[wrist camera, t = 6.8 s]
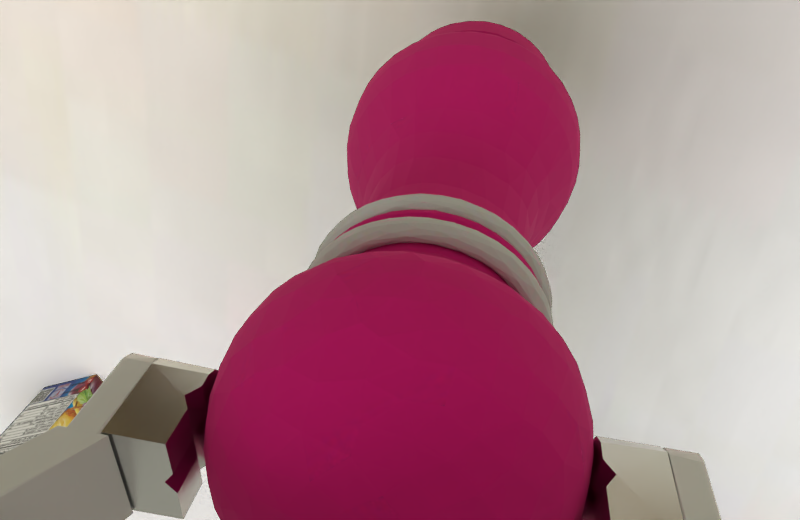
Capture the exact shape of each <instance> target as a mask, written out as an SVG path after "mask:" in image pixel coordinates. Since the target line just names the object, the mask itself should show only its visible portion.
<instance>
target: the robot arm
mask: <svg viewBox="0 0 800 520" xmlns="http://www.w3.org/2000/svg"><path fill="white" fill-rule="evenodd" d="M217 373H218V370H215V369H211V368H206V367H201V366H196V365H191V364H186V363H181V362H177V361H172V360H167V359H162V358H155V357H150V356H145V355H140V354H135V353H131V354H129V355H128V356H126V357H124V358H123V359H122V360H121V361H120V362H119V363H118V365H117V366H116V367H115V368H114V370H113V371H112V372H111V373H110V374H109V376H108V377H107V378H106V379H105V381H104V382H103V383H102V384H101V386H100V387H99V388H98V389H97V390H96V392H95V393H94V394H93V395H92V397H91V398H90V399H89V400H88V402H87V403H86V404H85V405H84V406H83V408H82V409H81V410H80V411H79V413H78V414H77V415H76V416H75V418H74V419H73V420H72V421H71V422H70V424H69V425H68V426H67V427H64V426H56V427H54V428H52V429H50V430H48V431H47V432H45V433H43V434H41V435H39V436H37V437H35V438H33V439H31V440H29V441H27V442H25V443H23V444H21V445H19V446H17V447H15V448H13V449H11V450H9V451H7V452H6V453H4V454H2V455H0V520H125V519H126V518H127V517H129V516H130V515H131V514H132V513H133V511H132V510H136V511H141V512H147V513H152V514H158V515H164V516H169V517H175V518H181V519H184V517H185V515H186V513H187V511H188V510H189V508H190V506H191V504H192V502H193V500H194V498H195V496H196V494H197V492H198V491H199V489H200V487H201V485H202V478H201V473H200V469H201V468H203V467H204V466H206V464H205V457H204V450H203V448H204V436H205V425H206V418H207V411H208V404H209V397H210V393H211V390H212V387H213V385H214V382H215V379H216V376H217ZM593 448H594V457H593V465H592V473H591V479H590V484H589V489H588V493H587V498H586V502H585V506H584V510H583V514H582V519H581V520H721V516H720V513H719V510H718V506H717V503H716V500H715V496H714V493H713V489H712V486H711V483H710V479H709V476H708V473H707V469H706V466H705V462H704V460H703V458H702V457H701V456H700V455H699V454H698V453H692V452H687V451H681V450H675V449H669V448H662V447H660V446H654V445H648V444H642V443H635V442H629V441H623V440H617V439H611V438H605V437H599V436H596V437H595V438H594V440H593Z"/></svg>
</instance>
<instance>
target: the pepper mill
mask: <svg viewBox="0 0 800 520" xmlns="http://www.w3.org/2000/svg"><path fill="white" fill-rule="evenodd" d="M579 157H580V131H579V124H578V118H577V114H576V111H575V108H574V105H573V103H572V100H571V98H570V96H569V94H568V92H567V90H566V89H565V87H564V85H563V83H562V82H561V80H560V79H559V78H558V77H557V75H556V74H555V73H554V72H553V71H552V69H551V68H550V67H549V65H548V63H547V61H546V60H545V58H544V56H543V55H542V54H541V52H540V51H539V50H538V49H537V48H536V47H535V46H534V45H533V44H532V43H531V42H530V41H529V40H528V39H526V38H525V37H524V36H522V35H521V34H520V33H518V32H516V31H514V30H512V29H510V28H507V27H505V26H502V25H500V24H495V23H491V22H484V21H466V22H460V23H454V24H450V25H447V26H444V27H441V28H439V29H437V30H435V31H433V32H431V33H430V34H428V35H427V36H425V37H424V38H422V39H421V40H420V41H418V42H416V43H413V44H411V45H410V46H408V47H407V48H405V49H403V50H402V51H400V52H398V53H397V54H395V55H394V56H393V57H392V58H391V59H390V60H389V61H387V62H386V63H385V64H384V65H383V66H382V67H381V68H380V69H379V70H378V71H377V72H376V74H375V75H374V76H373V78H372V79H371V80H370V82H369V83H368V85H367V87H366V88H365V90H364V92H363V94H362V96H361V98H360V100H359V103H358V106H357V108H356V111H355V114H354V116H353V119H352V122H351V125H350V130H349V136H348V143H347V163H348V178H349V184H350V190H351V193H352V196H353V199H354V202H355V205H356V207H357V210H355V211H353V212H352V213H350V214H349V215H348V216H346V217H345V218H344V219H343V220H341V221H340V222H339V223H338V224H337V225H336V226H335V228H334V229H333V230H332V231H331V232H330V233H329V234H328V235H327V237H326V238H325V240H324V241H323V242H322V244H321V245H320V247H319V249H318V252H317V254H316V257H315V259H314V261H313V262H312V263H311V265H310V266H309V268H308V270H306V271H304V272H302V273H300V274H298V275H295V276H294V277H292V278H291V279H289V280H288V281H287V282H285V283H284V284H282V285H281V286H280V287H278V288H277V289H275V290H274V291H273V292H272V293H271V294H270V295H269V296H268V297H267V298H266V299H265V300H264V301H263V302H262V303H261V305H260V306H259V307H258V308H257V309H256V310H255V311H254V312H253V313H252V314H251V315H250V316H249V318H248V319H247V320H246V322H245V323H244V324H243V326H242V327H241V328H240V330H239V331H238V332H237V334H236V335H235V337H234V339H233V341H232V343H231V345H230V347H229V349H228V351H227V353H226V355H225V357H224V359H223V361H222V363H221V365H220V367H219V370H218V373H217V376H216V379H215V382H214V385H213V387H212V390H211V393H210V397H209V404H208V411H207V418H206V425H205V436H204V448H203V450H204V457H205V464H206V471H207V478H208V484H209V488H210V492H211V496H212V500H213V504H214V508H215V510H216V512H217V514H218V516H219V518H220V520H581V519H582V514H583V510H584V506H585V502H586V498H587V493H588V489H589V484H590V479H591V473H592V465H593V457H594V448H593V420H592V415H591V411H590V407H589V402H588V398H587V393H586V389H585V386H584V383H583V380H582V377H581V374H580V371H579V368H578V365H577V362H576V361H575V359H574V357H573V355H572V354H571V352H570V350H569V348H568V347H567V345H566V343H565V341H564V340H563V338H562V337H561V336H560V335H559V333H558V332H557V331H556V330H555V328H554V327H553V321H552V314H551V307H552V296H551V289H550V286H549V282H548V278H547V275H546V272H545V269H544V267H543V265H542V263H541V261H540V258H539V257H538V255H537V253H536V252H535V251H534V249H533V247H534V246H536V245H537V244H538V243H539V242H540V241H541V240H542V239H543V238H544V237H545V236H546V235H547V233H548V232H549V231H550V230H551V228H552V227H553V225H554V224H555V223H556V221H557V220H558V218H559V216H560V215H561V213H562V211H563V210H564V208H565V206H566V205H567V203H568V200H569V198H570V195H571V193H572V190H573V188H574V186H575V183H576V178H577V174H578V169H579Z"/></svg>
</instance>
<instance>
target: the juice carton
mask: <svg viewBox="0 0 800 520" xmlns="http://www.w3.org/2000/svg"><path fill="white" fill-rule="evenodd" d="M102 383H103V381H102V380H101V379H100V378H99V377H98V375H92V376H88V377H84V378H80V379H76V380H72V381H68V382H64V383H60V384H56V385H52V386H48V387H44V388H43V389H42V391H41V392H40V393H39V394H38V395H37V396H36V397H35V398H34V399H33V400H32V401H31V403H30V404H29V405H28V406H27V407H26V408H25V409H24V410H23V411H22V412H21V413H20V415H19V416H18V417H17V418H16V419H15V420H14V421H13V422H12V423H11V424H10V425H9V427H8V428H7V429H6V430H5V431H4V432H3V433H2V434H1V435H0V455H2V454H4V453H6V452H7V451H9V450H11V449H13V448H15V447H17V446H19V445H21V444H23V443H25V442H27V441H29V440H31V439H33V438H35V437H37V436H39V435H41V434H43V433H45V432H47V431H48V430H50V429H52V428H54V427H56V426H64V427H67V426H68V425H69V424H70V422H71V421H72V420H73V419H74V418H75V416H76V415H77V414H78V413H79V411H80V410H81V409H82V408H83V406H84V405H85V404H86V403H87V402H88V400H89V399H90V398H91V397H92V395H93V394H94V393H95V392H96V390H97V389H98V388H99V387H100V386H101V384H102Z"/></svg>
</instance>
